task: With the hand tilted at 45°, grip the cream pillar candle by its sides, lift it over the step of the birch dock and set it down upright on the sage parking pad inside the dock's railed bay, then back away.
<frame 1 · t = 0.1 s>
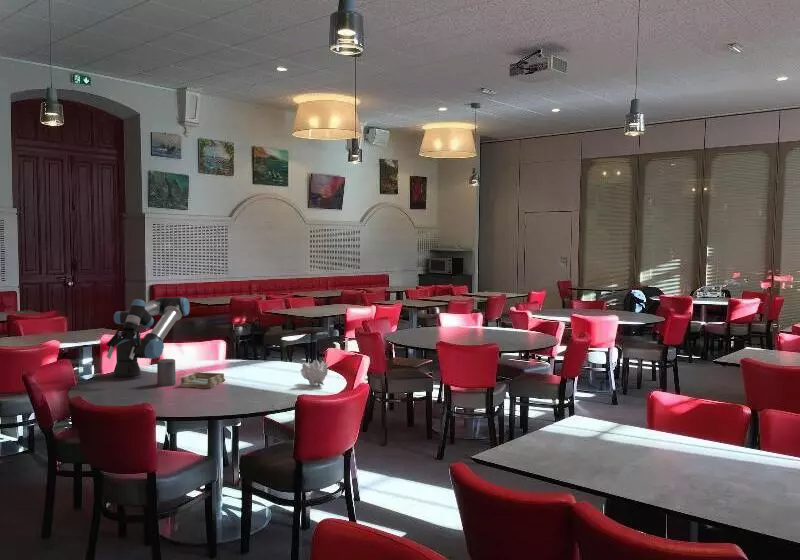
hand: (119, 358, 367), 15 cm above the table, tool tilted 35°, fingers open, 13 cm apart
crumpled paper: (312, 386, 372), on the table
pillar candle: (166, 384, 372), on the table
dock: (203, 384, 373), on the table
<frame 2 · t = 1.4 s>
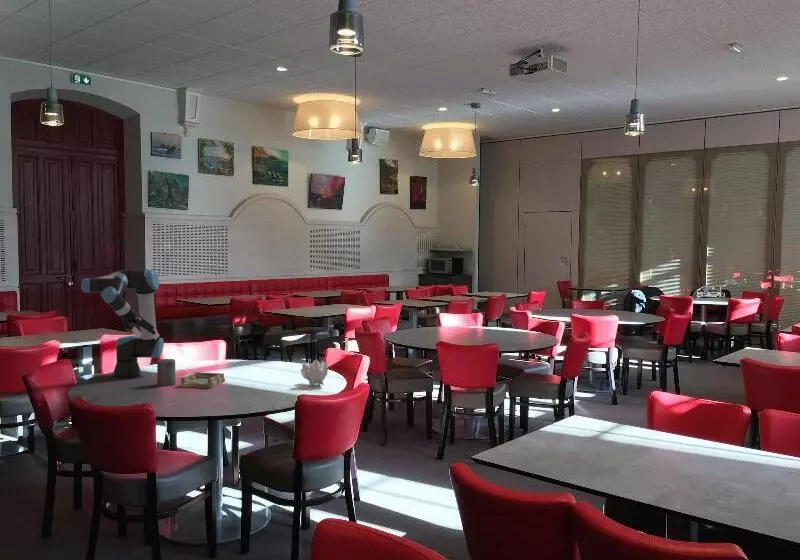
hand: (148, 336, 361), 28 cm above the table, tool tilted 45°, fingers open, 13 cm apart
nothing on the table moved.
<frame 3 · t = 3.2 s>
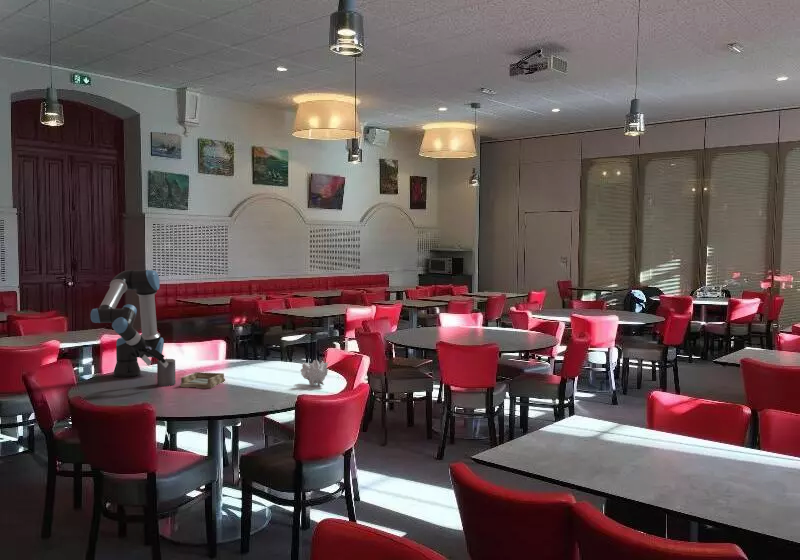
hand: (158, 364, 366), 12 cm above the table, tool tilted 45°, fingers open, 13 cm apart
nothing on the table moved.
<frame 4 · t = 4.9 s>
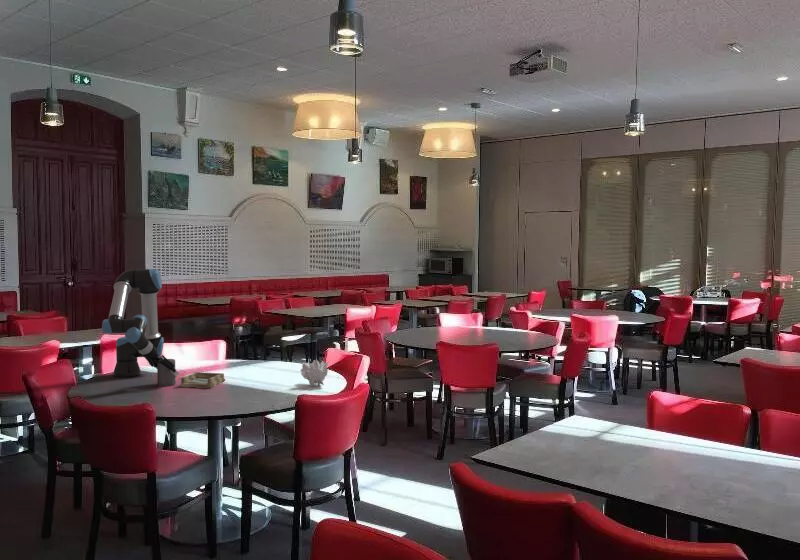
hand: (170, 374, 374), 5 cm above the table, tool tilted 45°, fingers closed on pillar candle, 9 cm apart
pillar candle: (166, 384, 372), on the table, touching gripper
everything else where it was.
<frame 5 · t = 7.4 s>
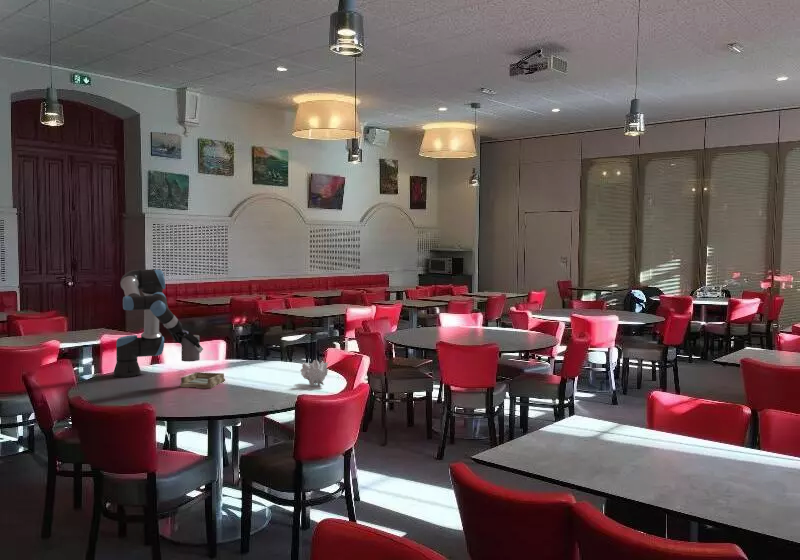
hand: (195, 349, 372), 19 cm above the table, tool tilted 45°, fingers closed on pillar candle, 9 cm apart
pillar candle: (190, 360, 370), point 14 cm above the table, touching gripper
everything else where it was.
when the fingers open (9 cm above the table, at t = 10.3 s): pillar candle drops 1 cm, resting on dock.
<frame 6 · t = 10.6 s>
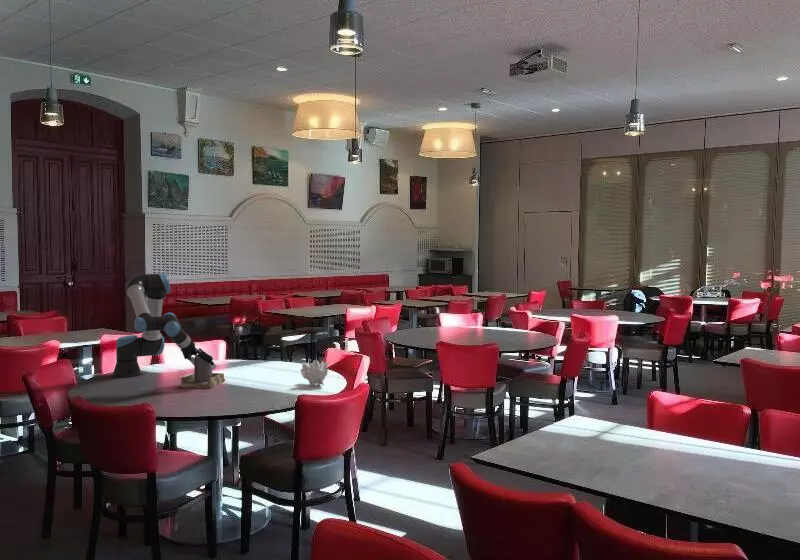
hand: (206, 366, 374), 10 cm above the table, tool tilted 45°, fingers open, 13 cm apart
pillar candle: (203, 381, 372), point 2 cm above the table, touching dock
everything else where it was.
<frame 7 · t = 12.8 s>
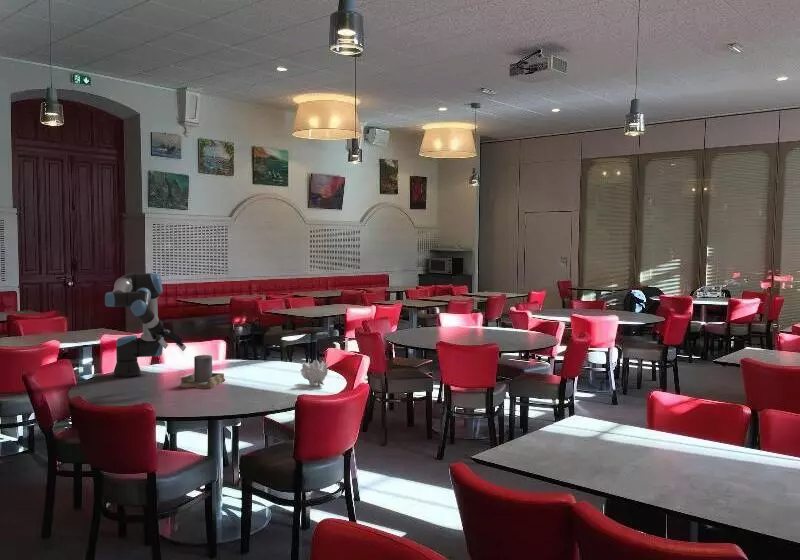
hand: (175, 347, 361), 22 cm above the table, tool tilted 45°, fingers open, 13 cm apart
nothing on the table moved.
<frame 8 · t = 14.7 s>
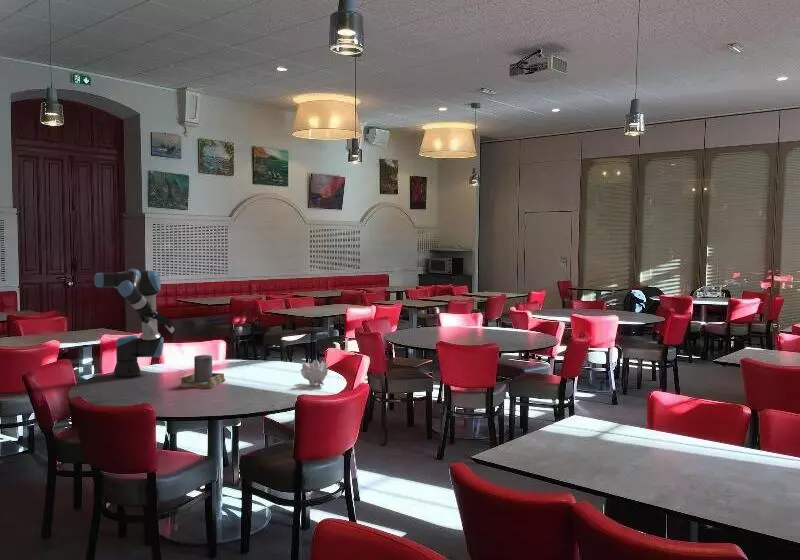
hand: (164, 330, 361), 32 cm above the table, tool tilted 45°, fingers open, 13 cm apart
nothing on the table moved.
at the end: pillar candle 0.3 cm from the dock (horizontally); pillar candle tilted 0°; pillar candle touching dock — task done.
